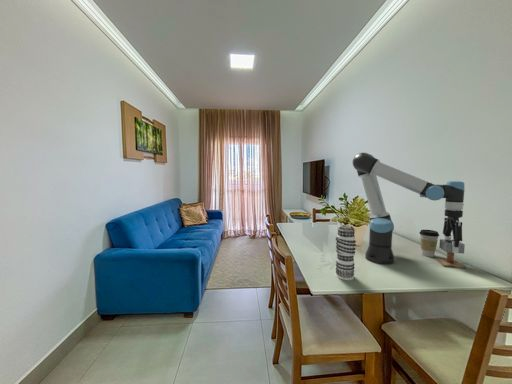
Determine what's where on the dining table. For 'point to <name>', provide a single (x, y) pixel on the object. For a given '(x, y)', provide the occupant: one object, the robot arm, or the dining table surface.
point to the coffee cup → (428, 242)
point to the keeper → (450, 261)
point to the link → (450, 246)
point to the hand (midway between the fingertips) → (450, 250)
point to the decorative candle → (345, 252)
